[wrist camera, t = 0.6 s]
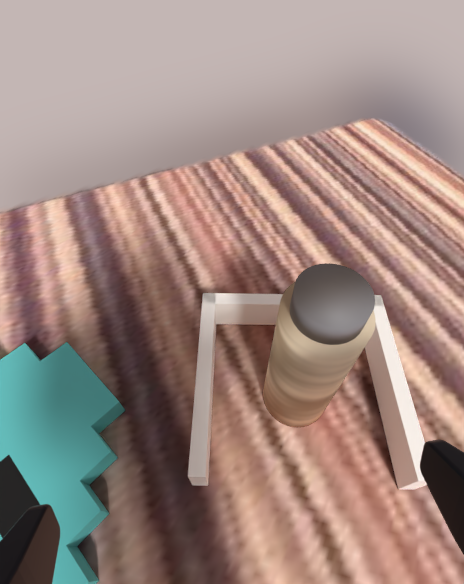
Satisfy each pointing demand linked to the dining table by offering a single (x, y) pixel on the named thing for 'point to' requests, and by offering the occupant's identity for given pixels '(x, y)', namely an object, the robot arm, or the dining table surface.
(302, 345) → the pepper mill
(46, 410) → the alien figure
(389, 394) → the u-shaped frame
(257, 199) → the dining table surface
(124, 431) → the dining table surface
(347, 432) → the dining table surface
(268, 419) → the dining table surface
